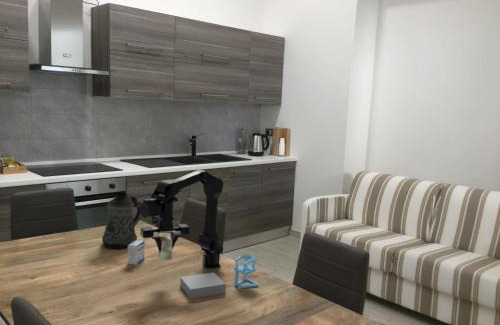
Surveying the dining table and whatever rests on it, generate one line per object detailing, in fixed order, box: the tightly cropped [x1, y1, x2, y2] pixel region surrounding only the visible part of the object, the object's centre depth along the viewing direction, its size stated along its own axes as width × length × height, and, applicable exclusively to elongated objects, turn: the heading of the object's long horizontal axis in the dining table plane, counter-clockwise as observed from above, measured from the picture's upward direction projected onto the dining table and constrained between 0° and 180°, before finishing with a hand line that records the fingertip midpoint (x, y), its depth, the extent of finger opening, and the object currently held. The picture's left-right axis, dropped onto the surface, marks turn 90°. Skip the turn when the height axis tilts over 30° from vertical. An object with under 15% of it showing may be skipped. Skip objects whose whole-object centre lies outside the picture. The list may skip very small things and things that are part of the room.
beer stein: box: [101, 193, 142, 251], centre depth 216 cm, size 16×19×25 cm
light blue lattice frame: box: [233, 254, 259, 290], centre depth 175 cm, size 8×8×12 cm
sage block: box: [158, 235, 173, 262], centre depth 174 cm, size 4×5×8 cm
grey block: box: [179, 272, 226, 300], centre depth 170 cm, size 14×12×4 cm
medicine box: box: [127, 239, 146, 266], centre depth 195 cm, size 8×4×9 cm, turn 168°
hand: (165, 251), depth 174 cm, fingers closed on sage block, 4 cm apart
